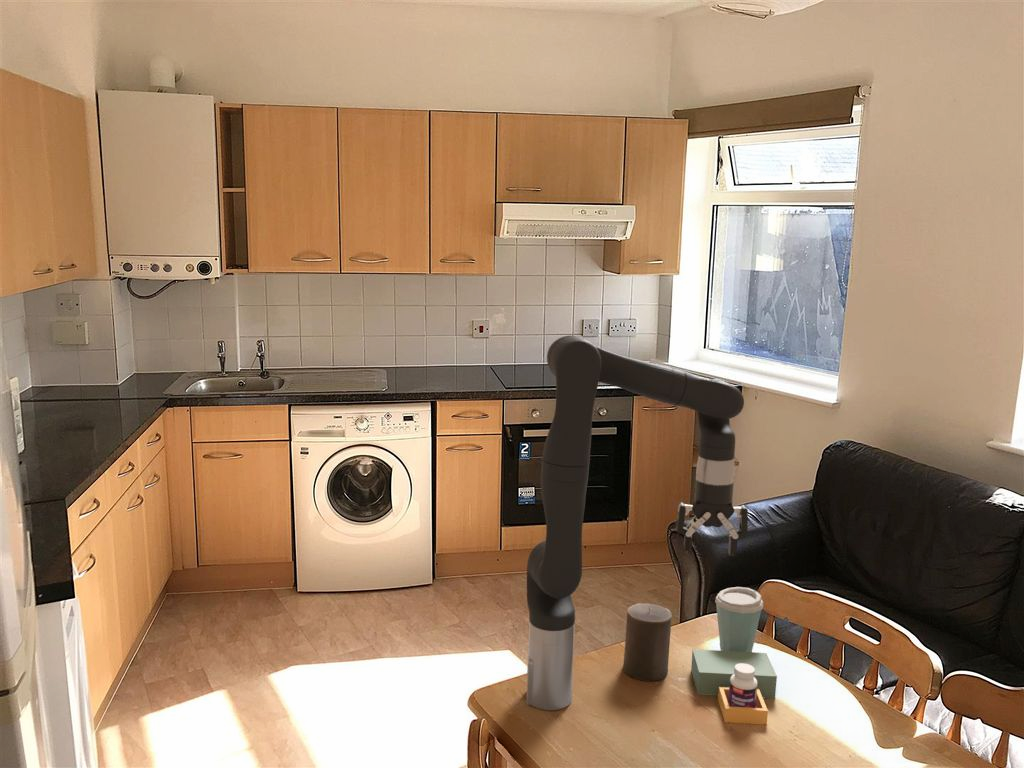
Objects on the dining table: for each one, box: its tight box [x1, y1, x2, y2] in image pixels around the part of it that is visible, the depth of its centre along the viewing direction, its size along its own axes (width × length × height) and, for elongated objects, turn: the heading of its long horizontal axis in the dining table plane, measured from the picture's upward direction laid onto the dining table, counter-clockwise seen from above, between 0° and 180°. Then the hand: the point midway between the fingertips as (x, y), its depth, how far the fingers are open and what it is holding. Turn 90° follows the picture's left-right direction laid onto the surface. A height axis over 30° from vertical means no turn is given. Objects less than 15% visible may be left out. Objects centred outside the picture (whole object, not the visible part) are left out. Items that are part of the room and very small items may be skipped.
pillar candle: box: [622, 603, 673, 682], centre depth 193 cm, size 10×10×15 cm
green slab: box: [691, 648, 778, 726], centre depth 184 cm, size 16×20×5 cm
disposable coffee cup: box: [714, 586, 764, 652], centre depth 201 cm, size 11×11×15 cm
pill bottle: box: [728, 663, 757, 708], centre depth 178 cm, size 5×5×10 cm
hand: (709, 553), depth 183 cm, fingers open, 8 cm apart
